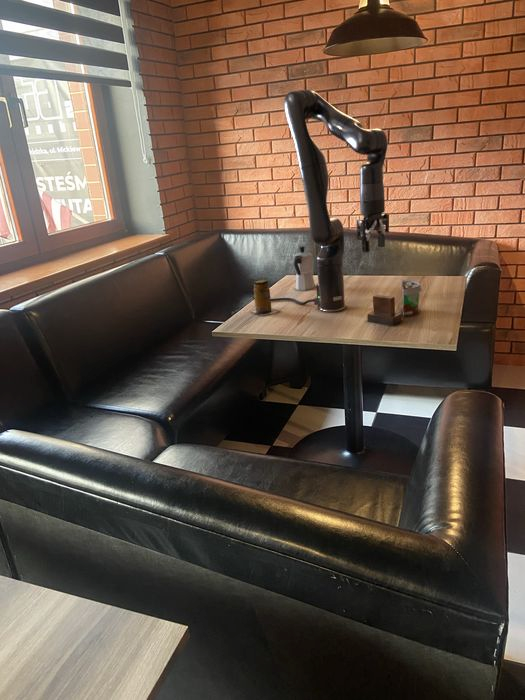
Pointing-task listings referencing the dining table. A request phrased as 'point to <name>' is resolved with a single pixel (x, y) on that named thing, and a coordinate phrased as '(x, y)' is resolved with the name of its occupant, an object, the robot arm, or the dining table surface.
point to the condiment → (262, 298)
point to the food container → (410, 297)
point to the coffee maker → (303, 270)
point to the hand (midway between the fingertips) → (373, 249)
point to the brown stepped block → (384, 311)
